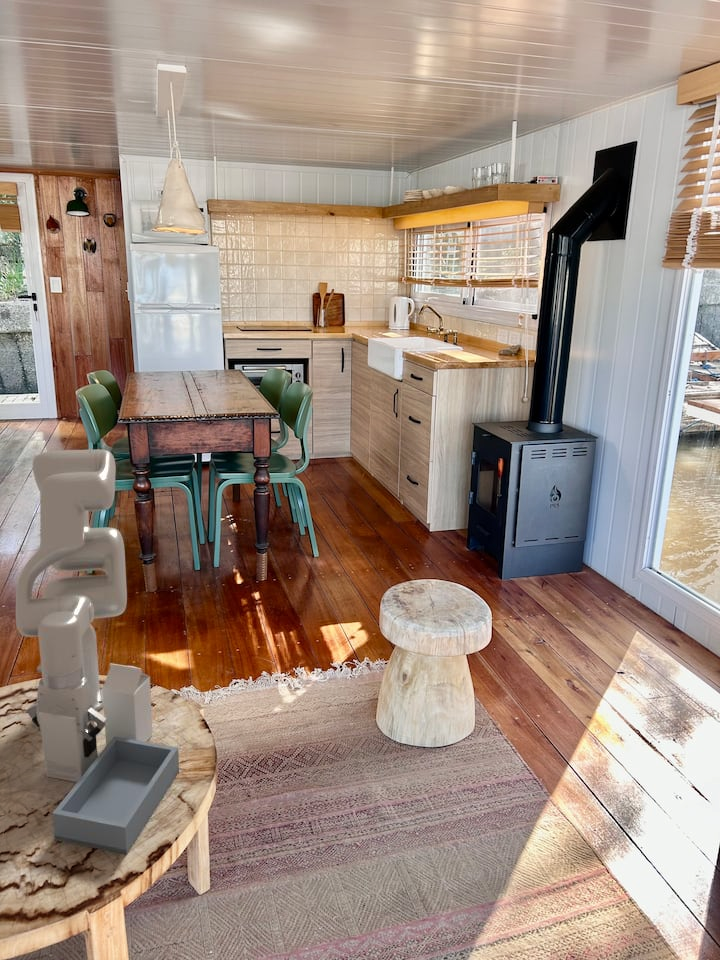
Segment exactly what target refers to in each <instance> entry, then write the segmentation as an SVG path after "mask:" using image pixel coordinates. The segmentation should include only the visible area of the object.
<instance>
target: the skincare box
mask: <svg viewBox="0 0 720 960" xmlns="http://www.w3.org/2000/svg"><path fill="white" fill-rule="evenodd" d="M38 715H39V722H40V729H41V732H40V735H41V741H42V742H41V743H42V748H43V749H42V750H43V755H44V756H43V757H44V764H45V770H46V771H45V772H46V776H47V777H49V778H54V779H58V780H64V781H69V782H74V783H77V782H78V781H79V780H80V778H81V777H82V776H83V775H84V773H85V772H86V771H87V770H88V768H89V767H90V766H91V765H92V763H93V762H94V761H95V760H96V759H97V757H98V756H99V754H98V746H97V747H96V749H95V751H94V752H92V754H91V755H90V756H89V757H85V756H84V743H83V741H84V740H85V737H84V736H83V734H82V733H77V718H76V717H69V716H64V715H63V716H62V715H54V714H48V713H42V712H39V713H38ZM88 718H89V717H88ZM92 722H93V723H94V724H95V722H94V721H92ZM86 728H87V730H88V731H89V732H90V731H91V730H90V729H89V725H88V726H87V727H86Z"/></svg>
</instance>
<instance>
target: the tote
mask: <svg viewBox="0 0 720 960" xmlns="http://www.w3.org/2000/svg"><path fill="white" fill-rule="evenodd" d="M104 747H105V748H103V750H102V751H101V753H99V754H98V757H97V759H96V760H95V761H94V762H93V763H92V765H91V766H90V767H89V768H88V770H87V771H86V772H85V773H84V775H83V776H82V777H81V778H80V780H79V781H78V782H75V785H74V786H73V787H71V788H72V789H70V791H69V792H68V793H67V795H66V796H64V798H63V799H62V800H61V802H60V803H59V804H58V806H57V807H56V808H55V810H53V812H52V813H51V814H52V823H53V833H54V840H55V841H58V842H63V843H67V844H72V845H73V844H74V845H79V846H82V847H88V848H91V849H92V848H94V849H96V848H97V850H103V851H106V852H111V853H117V854H123V855H128V854H129V852H130V851H131V849H132V847H133V846H134V844H135V842H136V841H137V839H138V838H139V837H140V836H141V835H140V834H141V833H142V831H144V828H145V827H146V825H147V823H148V822H149V820H150V818H151V817H152V816H153V814H154V812H155V810H156V809H157V808H158V806H159V804H160V803H161V801H162V800H163V798H164V796H165V795H166V793H167V792H168V790H169V789H170V787H171V786H172V784H173V782H174V781H175V779H176V777H177V776H178V774H179V772H180V764H179V760H180V759H179V758H180V757H179V747H176V746H171V745H165V744H159V743H154V742H149V741H147V742H144V741H138V740H132V739H127V738H121V737H115V736H114V738H113V739H112V740H111V741H110V742H109V744H108V745H107V746H104Z"/></svg>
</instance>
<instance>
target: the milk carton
mask: <svg viewBox="0 0 720 960" xmlns="http://www.w3.org/2000/svg"><path fill="white" fill-rule="evenodd" d="M102 687H103V689H102V691H103V716H104V717H105V718H106V719H107V720H108V722H107V723H106V725H105V726H104V733H105V745H106V746H107V745H108V744H109V742H110V741H111V740H112V739H113V738H114V736H115V737H121V738H127V739H132V740H138V741H144V742H149V740H150V738H152V736H153V719H152V718H153V717H152V695H151V676H150V675H147V674H145V673H144V672H143V673H142V667H141V668H140V667H137V666H133V665H123V664H119V663H118V664H117V663H109V669H108V672H107V675H106V678H105V681H104V683H103V686H102ZM106 746H105V747H106Z"/></svg>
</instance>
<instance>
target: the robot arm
mask: <svg viewBox="0 0 720 960" xmlns="http://www.w3.org/2000/svg"><path fill="white" fill-rule="evenodd" d="M116 467H117V466H116V460H115V457H114V455H113V453H111V451H109V450H107V449H99V448H98V449H96V448H95V449H66V450H65V449H61V450H51V451H45V452H41V453H39V454H37V455H36V456H34V458H33V460H32V473H33V477H34V481H35V484H36V487H37V488H38V490H39V493H40V495H39V496H40V498H39V501H40V504H39V506H40V507H39V510H40V511H39V513H40V514H39V515H40V519H39V520H40V528H39V529H40V530H39V531H40V532H39V534H40V535H39V537H40V544H39V548H38V550H37V551H36V552H34V554H33V555H32V556H31V557H30V558H29V559H28V561H27V562H26V563H25V565H24V566H23V569H22V570H21V572H20V574H19V577H18V579H17V583H16V589H15V623H16V624H15V625H16V629H17V630H18V632H19V634H21V636H23V637H28V638H32V637H33V638H34V637H38V646H39V655H40V664H39V665H38V666H37V668H36V671H37V672H40V673H41V679H39V680H38V681H39V682H38V686H37V693H36V703H35V704H32V705H30V706H29V707H28V708H27V710H26V713H27V715H28V716H29V717H30V718H31V721H32V723H34V724H35V726H37V731H38V732H39V733H41V729H40V722H39V715H38V713H39V712H42V713H48V714H54V715H62V716H63V715H64V716H69V717H76V718H77V733H82V734H83V736H84V737H85V740H84V741H83V743H84V756H85V757H89V756H90V755H91V754H92V752H94V751H95V749H96V747H97V748H98V746H97V735H99V734H100V733H101V732H102V730H104V729H105V725H106V723H107V722H108V720H107V719H106V718H105V717H104V715H102V714H101V713H100V712H99V711H100V710H101V709H102V708H104V706H103V691H102V689H103V686H101V685H100V674H99V663H98V661H99V660H98V647H97V645H98V644H97V633H96V631H95V628H94V627H93V625H92V623H93V621H94V619H104V618H105V619H106V618H113V617H118V616H120V615H122V614H123V613H124V612H125V611H126V608H127V604H128V603H127V601H128V589H127V588H128V587H127V572H126V571H127V569H126V553H125V543H124V538H123V536H122V533H121V532H120V531H119V530H118V529H117V528H114V527H103V526H102V527H90V521H89V520H90V519H89V512H100V511H101V512H102V511H107V510H109V509H110V508H111V507H112V506H113V504H114V501H115V494H116V473H117V469H116ZM49 567H52V568H53V569H54V570H55V571H58V572H68V573H69V572H82V571H97V570H100V571H103V572H104V573H105V574H100V575H84V576H83V575H82V576H69V577H61V578H58V579H57V578H56V579H54V580H52V581H50V582H48V584H46V586H45V587H44V588H43V590H42V597H35V598H33V594H32V593H33V587H34V585H35V581H36V580H37V578H38V577H39V575H41V574H42V572H44V571H46V570H47V569H48V568H49ZM88 717H89V718H88ZM92 721H94V723H93V722H92ZM95 723H96V724H95ZM88 725H89V729H90V730H91V731H90V732H89V731H88V730H87V728H86V727H87V726H88Z"/></svg>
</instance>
